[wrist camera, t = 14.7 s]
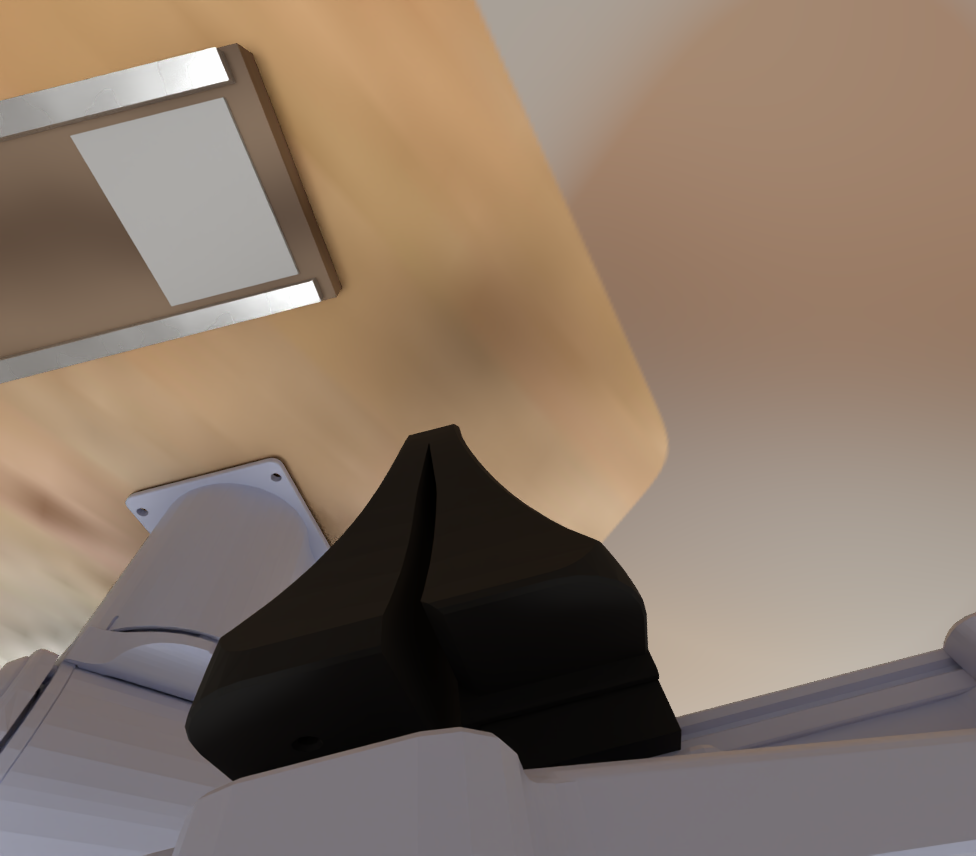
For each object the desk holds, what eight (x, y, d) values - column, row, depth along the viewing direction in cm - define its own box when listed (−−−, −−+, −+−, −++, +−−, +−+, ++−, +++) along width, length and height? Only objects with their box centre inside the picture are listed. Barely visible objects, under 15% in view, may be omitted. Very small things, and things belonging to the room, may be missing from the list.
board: (341, 288, 19) (334, 300, 18) (-114, 404, 19) (-168, 429, 17) (251, 53, 15) (230, 38, 13) (-331, 199, 15) (-432, 204, 13)
